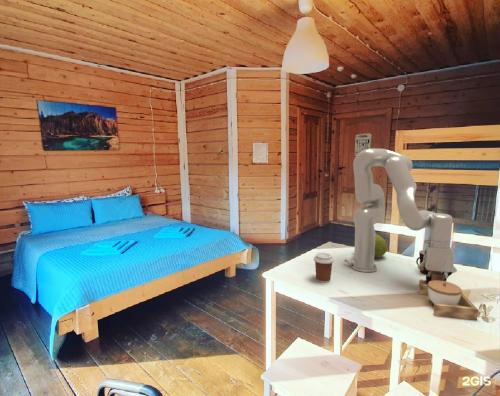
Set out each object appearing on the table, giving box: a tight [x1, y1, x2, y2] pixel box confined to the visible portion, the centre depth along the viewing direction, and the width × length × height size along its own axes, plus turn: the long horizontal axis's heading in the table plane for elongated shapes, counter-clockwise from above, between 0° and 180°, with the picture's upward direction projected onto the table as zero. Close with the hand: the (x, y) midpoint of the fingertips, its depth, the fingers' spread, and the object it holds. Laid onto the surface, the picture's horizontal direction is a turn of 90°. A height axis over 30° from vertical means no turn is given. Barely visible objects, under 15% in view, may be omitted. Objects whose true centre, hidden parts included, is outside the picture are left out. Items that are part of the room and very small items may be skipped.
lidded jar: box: [427, 280, 463, 306], centre depth 111 cm, size 11×11×9 cm
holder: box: [418, 279, 479, 321], centre depth 115 cm, size 13×26×4 cm, turn 166°
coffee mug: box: [415, 249, 426, 276], centre depth 141 cm, size 12×9×10 cm
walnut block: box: [431, 271, 445, 281], centre depth 122 cm, size 4×4×6 cm
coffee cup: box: [313, 252, 335, 284], centre depth 134 cm, size 9×9×12 cm
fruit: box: [374, 233, 388, 259], centre depth 163 cm, size 16×14×15 cm
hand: (435, 284), depth 122 cm, fingers closed on walnut block, 4 cm apart
